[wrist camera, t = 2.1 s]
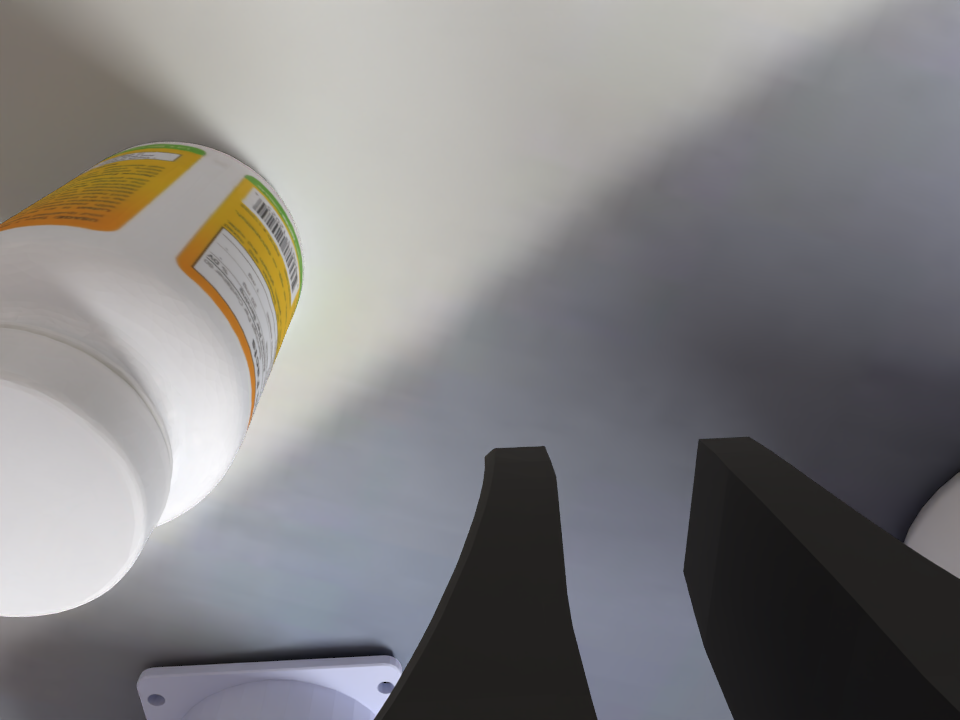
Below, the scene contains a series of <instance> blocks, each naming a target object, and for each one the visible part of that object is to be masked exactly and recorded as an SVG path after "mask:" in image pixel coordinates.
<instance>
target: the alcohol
mask: <svg viewBox="0 0 960 720" xmlns="http://www.w3.org/2000/svg"><path fill="white" fill-rule="evenodd" d="M904 544H905V545H907V546H908V547H910V548H912V549H913V550H915V551H916V552H918V553H919V554H921V555H922V556H924V557H925V558H927V559H928V560H930V561H932V562H933V563H935V564H936V565H938V566H940V567H941V568H943V569H945V570H946V571H948V572H949V573H951V574H953V575H954V576H956V577H958V578H959V579H960V472H958V473H957V474H956V475H955V476H954V477H952V478H951V479H950V480H949V481H948V482H947V483H945V484H944V485H943V486H942V487H941V488H939V489H938V490H937V492H936V493H935V494H934V495H933V496H932V497H931V498H930V500H929V501H928V502H927V503H926V504H925V505H924V506H923V507H922V509H921V510H920V512H919V513H918V515H917V517H916V518H915V520H914V522H913V523H912V525H911V526H910V528H909V530H908V533H907V535H906V538H905V541H904Z"/></svg>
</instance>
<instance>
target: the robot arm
mask: <svg viewBox="0 0 960 720" xmlns="http://www.w3.org/2000/svg"><path fill="white" fill-rule="evenodd" d="M683 572H684V576H685V579H686V583H687V587H688V591H689V595H690V598H691V602H692V606H693V610H694V613H695V617H696V620H697V624H698V627H699V631H700V634H701V638H702V641H703V645H704V648H705V650H706V653H707V655H708V658H709V660H710V663H711V665H712V668H713V670H714V672H715V675H716V677H717V680H718V682H719V685H720V687H721V689H722V692H723V694H724V697H725V699H726V702H727V704H728V706H729V709H730V711H731V714H732V716H733V718H734V720H960V579H959V578H958V577H956V576H954V575H953V574H951V573H949V572H948V571H946V570H945V569H943V568H941V567H940V566H938V565H936V564H935V563H933V562H932V561H930V560H928V559H927V558H925V557H924V556H922V555H921V554H919V553H918V552H916V551H915V550H913V549H912V548H910V547H908V546H907V545H905V544H904V543H902V542H901V541H899V540H898V539H896V538H895V537H893V536H892V535H890V534H889V533H887V532H886V531H884V530H883V529H881V528H880V527H878V526H877V525H876V524H874V523H873V522H871V521H870V520H868V519H867V518H865V517H864V516H862V515H861V514H860V513H858V512H857V511H855V510H854V509H852V508H851V507H850V506H848V505H847V504H845V503H844V502H842V501H841V500H840V499H838V498H837V497H835V496H834V495H832V494H831V493H830V492H828V491H827V490H825V489H824V488H823V487H821V486H820V485H818V484H817V483H816V482H814V481H813V480H811V479H810V478H809V477H807V476H806V475H804V474H803V473H802V472H800V471H799V470H797V469H796V468H795V467H793V466H792V465H790V464H789V463H788V462H786V461H785V460H783V459H782V458H780V457H779V456H778V455H776V454H775V453H773V452H772V451H770V450H769V449H767V448H766V447H764V446H763V445H761V444H760V443H758V442H756V441H755V440H753V439H752V438H750V437H737V438H715V439H699V442H698V450H697V459H696V468H695V476H694V485H693V493H692V502H691V511H690V519H689V528H688V536H687V545H686V554H685V562H684V571H683ZM382 682H390V683H382ZM137 690H138V694H139V697H140V700H141V703H142V707H143V710H144V713H145V716H146V720H597V716H596V713H595V709H594V706H593V702H592V699H591V695H590V691H589V688H588V684H587V680H586V676H585V672H584V668H583V664H582V661H581V657H580V653H579V649H578V645H577V641H576V638H575V634H574V630H573V626H572V620H571V614H570V608H569V602H568V596H567V586H566V575H565V564H564V554H563V543H562V532H561V522H560V511H559V501H558V490H557V480H556V475H555V472H554V469H553V466H552V463H551V460H550V458H549V456H548V453H547V451H546V448H545V446H539V447H517V448H495V449H493V450H492V451H491V452H490V453H489V454H488V455H486V456H485V472H484V480H483V485H482V490H481V494H480V498H479V502H478V505H477V509H476V512H475V516H474V519H473V522H472V525H471V527H470V530H469V533H468V536H467V539H466V541H465V544H464V547H463V550H462V552H461V555H460V558H459V560H458V563H457V565H456V568H455V570H454V572H453V574H452V577H451V579H450V581H449V583H448V585H447V588H446V590H445V592H444V594H443V596H442V598H441V601H440V603H439V605H438V607H437V609H436V611H435V614H434V616H433V618H432V620H431V622H430V624H429V626H428V628H427V630H426V632H425V633H424V635H423V637H422V639H421V641H420V643H419V645H418V647H417V649H416V650H415V652H414V654H413V656H412V658H411V659H410V661H409V663H408V665H407V666H406V668H405V670H404V671H403V673H402V668H401V664H400V662H399V661H398V660H397V659H396V658H394V657H391V656H385V655H382V656H363V657H344V658H325V659H306V660H287V661H268V662H249V663H230V664H211V665H192V666H173V667H154V668H149V669H146V670H144V671H143V672H142V673H141V675H140V677H139V679H138V682H137ZM157 694H159V695H157Z"/></svg>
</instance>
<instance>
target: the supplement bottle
mask: <svg viewBox="0 0 960 720" xmlns="http://www.w3.org/2000/svg"><path fill="white" fill-rule="evenodd" d="M303 276H304V256H303V249H302V244H301V240H300V236H299V233H298V230H297V227H296V224H295V222H294V220H293V218H292V216H291V214H290V212H289V210H288V209H287V207H286V205H285V204H284V202H283V201H282V199H281V198H280V196H279V195H278V194H277V193H276V191H275V190H274V189H273V188H272V187H271V186H270V185H269V184H268V183H267V182H266V181H265V180H264V179H263V178H262V177H261V176H260V175H259V174H257V173H256V172H255V171H254V170H252V169H251V168H250V167H248V166H247V165H245V164H244V163H242V162H241V161H239V160H237V159H235V158H233V157H232V156H230V155H228V154H225V153H223V152H220V151H218V150H215V149H212V148H209V147H205V146H201V145H197V144H192V143H185V142H154V143H147V144H142V145H137V146H134V147H130V148H128V149H125V150H123V151H120V152H118V153H116V154H114V155H112V156H110V157H108V158H106V159H105V160H103V161H101V162H100V163H98V164H96V165H95V166H93V167H92V168H90V169H88V170H87V171H85V172H83V173H82V174H81V175H79V176H78V177H76V178H75V179H73V180H71V181H70V182H68V183H67V184H65V185H63V186H62V187H60V188H59V189H57V190H55V191H54V192H52V193H50V194H49V195H47V196H46V197H44V198H42V199H41V200H39V201H37V202H36V203H34V204H33V205H31V206H29V207H28V208H26V209H24V210H23V211H21V212H20V213H18V214H16V215H15V216H13V217H11V218H10V219H8V220H7V221H5V222H3V223H2V224H0V616H6V617H30V616H41V615H48V614H54V613H59V612H63V611H66V610H69V609H73V608H76V607H78V606H81V605H83V604H86V603H88V602H90V601H92V600H94V599H96V598H97V597H99V596H101V595H103V594H104V593H105V592H107V591H108V590H110V589H111V588H112V587H113V586H114V585H115V584H116V583H117V582H119V581H120V580H121V579H122V577H123V576H124V575H125V574H126V573H127V572H128V571H129V569H130V568H131V567H132V565H133V564H134V562H135V561H136V560H137V558H138V556H139V554H140V552H141V551H142V549H143V547H144V545H145V543H146V542H147V540H148V538H149V536H150V534H151V533H152V531H153V529H154V528H155V527H157V526H159V525H162V524H164V523H167V522H169V521H171V520H172V519H174V518H176V517H178V516H180V515H182V514H183V513H185V512H186V511H188V510H189V509H191V508H193V507H194V506H195V505H196V504H198V503H199V502H200V501H201V500H202V499H204V498H205V497H206V496H207V495H208V494H209V493H210V492H211V491H212V490H213V489H214V488H215V487H216V485H217V484H218V483H219V482H220V480H221V479H222V478H223V477H224V475H225V474H226V472H227V471H228V469H229V467H230V466H231V464H232V462H233V460H234V458H235V456H236V454H237V452H238V450H239V449H240V446H241V444H242V442H243V440H244V438H245V435H246V432H247V430H248V428H249V425H250V422H251V420H252V417H253V414H254V412H255V409H256V406H257V404H258V401H259V399H260V397H261V394H262V392H263V389H264V387H265V385H266V382H267V379H268V377H269V375H270V372H271V370H272V367H273V364H274V362H275V359H276V357H277V354H278V352H279V349H280V347H281V344H282V342H283V339H284V337H285V334H286V332H287V329H288V327H289V324H290V322H291V319H292V317H293V315H294V312H295V309H296V307H297V304H298V301H299V297H300V294H301V290H302V285H303Z"/></svg>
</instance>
